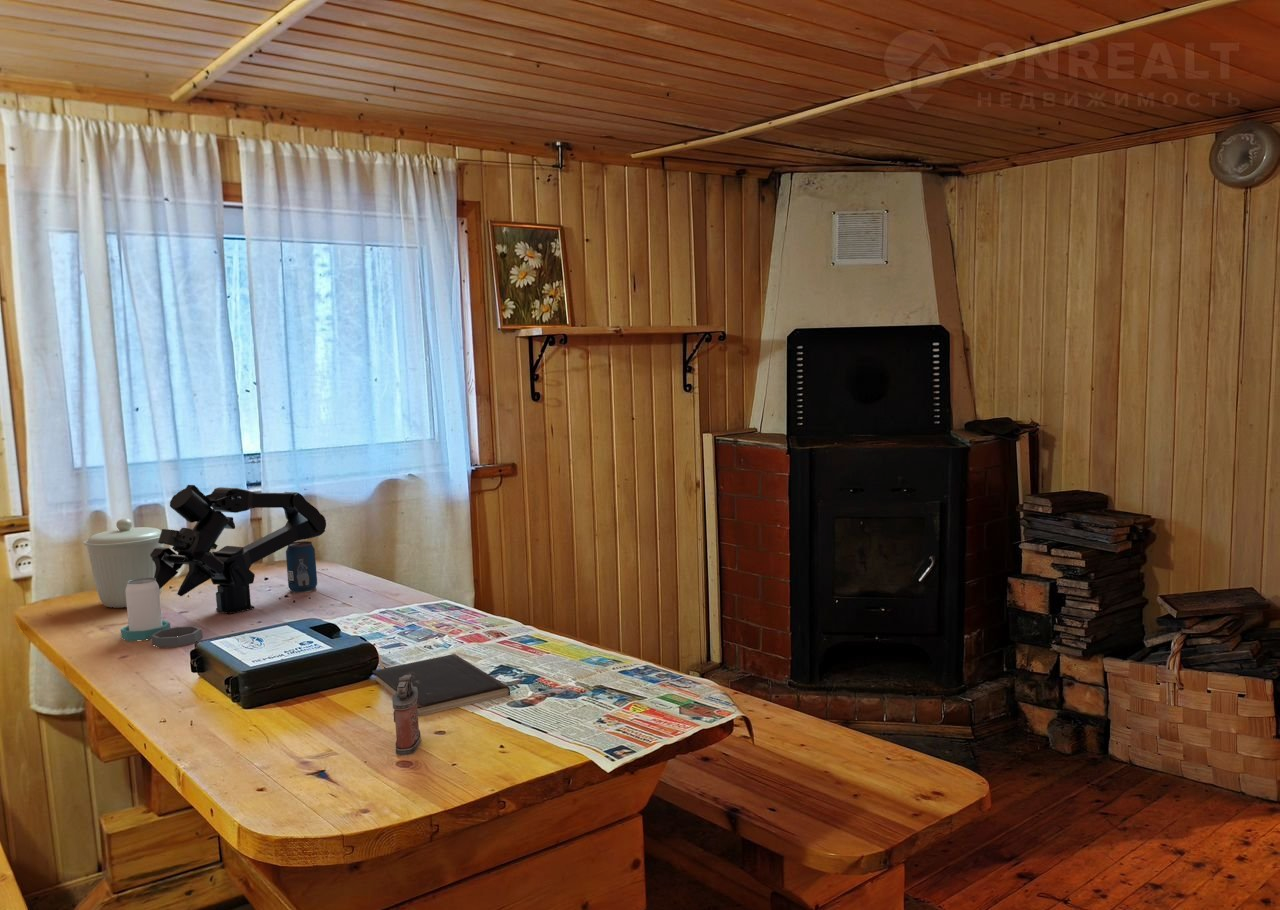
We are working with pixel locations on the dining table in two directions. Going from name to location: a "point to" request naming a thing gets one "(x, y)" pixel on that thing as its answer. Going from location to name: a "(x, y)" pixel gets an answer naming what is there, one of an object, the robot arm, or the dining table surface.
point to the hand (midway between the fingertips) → (165, 593)
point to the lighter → (406, 717)
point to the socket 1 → (142, 632)
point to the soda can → (301, 567)
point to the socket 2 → (170, 636)
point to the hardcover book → (443, 683)
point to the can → (143, 604)
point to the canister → (121, 559)
